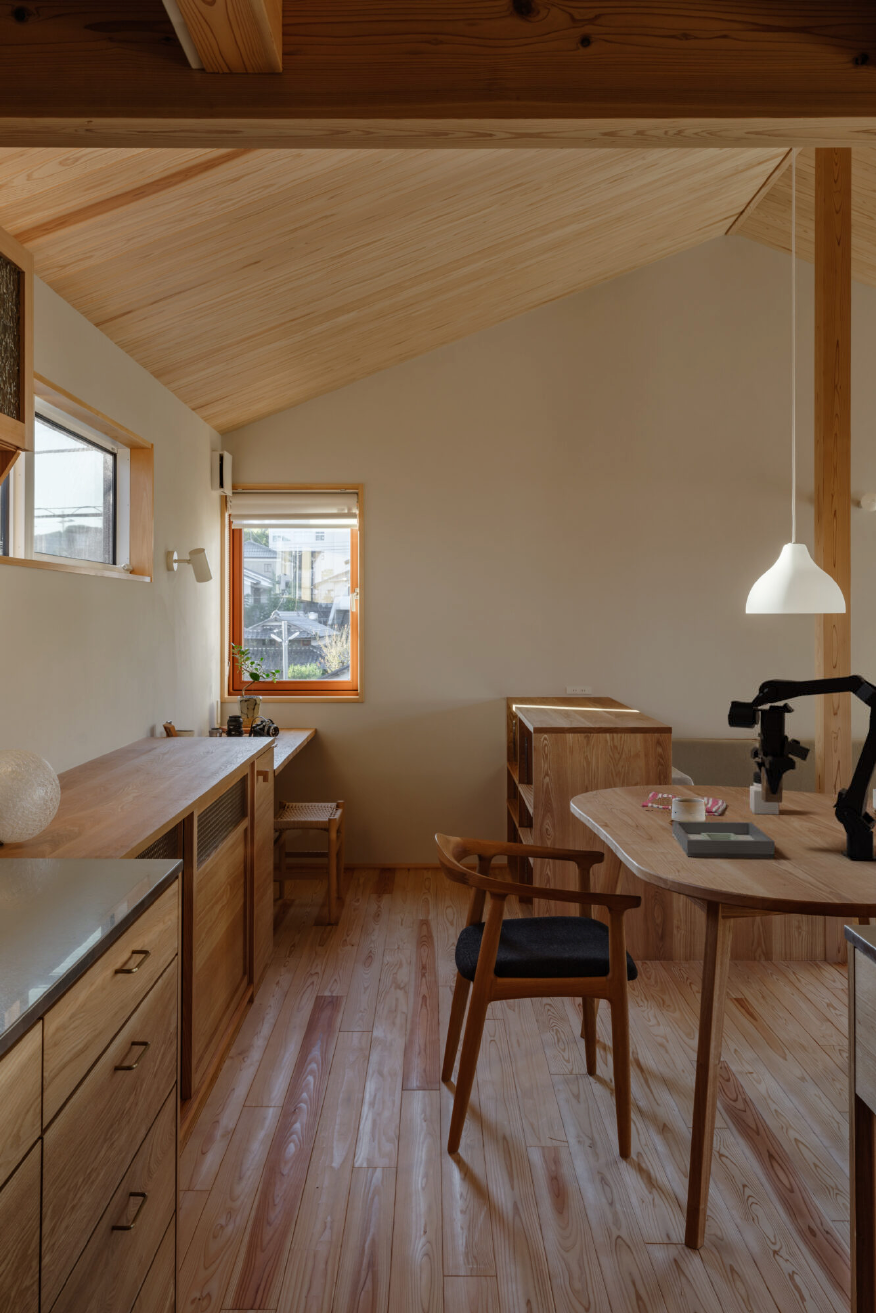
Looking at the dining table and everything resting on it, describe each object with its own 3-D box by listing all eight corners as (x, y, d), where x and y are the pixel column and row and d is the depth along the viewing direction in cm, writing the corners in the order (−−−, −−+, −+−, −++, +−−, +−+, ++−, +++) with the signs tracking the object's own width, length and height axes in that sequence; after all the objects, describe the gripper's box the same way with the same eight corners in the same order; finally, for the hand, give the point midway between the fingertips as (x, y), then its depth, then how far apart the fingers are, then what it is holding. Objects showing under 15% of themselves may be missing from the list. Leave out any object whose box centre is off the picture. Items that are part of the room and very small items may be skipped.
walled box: (774, 858, 197) (774, 841, 197) (687, 856, 200) (687, 840, 199) (751, 837, 217) (751, 822, 217) (672, 836, 219) (672, 821, 219)
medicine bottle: (779, 814, 244) (779, 773, 243) (753, 814, 245) (753, 773, 245) (774, 809, 251) (774, 769, 250) (749, 809, 252) (749, 769, 252)
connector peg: (782, 802, 206) (782, 770, 206) (765, 802, 207) (765, 769, 207) (777, 799, 210) (778, 767, 210) (761, 798, 211) (761, 767, 210)
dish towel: (650, 801, 268) (650, 790, 268) (727, 806, 258) (727, 795, 258) (640, 812, 252) (640, 800, 252) (721, 818, 243) (721, 806, 243)
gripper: (818, 735, 198) (817, 801, 198) (795, 726, 216) (794, 786, 217) (769, 734, 199) (768, 800, 200) (750, 725, 218) (749, 785, 218)
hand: (771, 792), depth 208 cm, fingers closed on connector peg, 4 cm apart
